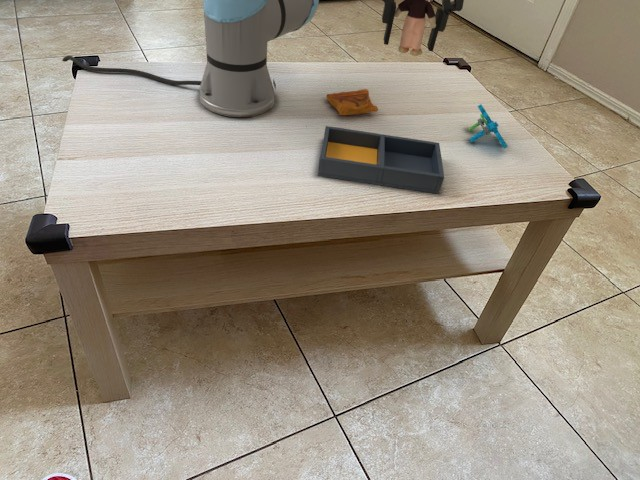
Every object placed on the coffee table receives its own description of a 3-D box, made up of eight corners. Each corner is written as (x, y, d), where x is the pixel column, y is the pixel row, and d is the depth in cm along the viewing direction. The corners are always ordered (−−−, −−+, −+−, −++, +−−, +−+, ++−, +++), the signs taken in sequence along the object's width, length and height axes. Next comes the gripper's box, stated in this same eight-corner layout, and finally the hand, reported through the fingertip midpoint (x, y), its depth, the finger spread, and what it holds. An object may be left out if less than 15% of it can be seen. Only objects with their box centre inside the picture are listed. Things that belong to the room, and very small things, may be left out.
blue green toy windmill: (515, 152, 94) (491, 113, 90) (487, 169, 96) (463, 131, 92) (500, 130, 103) (478, 93, 99) (475, 146, 105) (452, 110, 101)
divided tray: (317, 175, 84) (319, 158, 82) (323, 142, 92) (325, 125, 90) (438, 193, 84) (444, 177, 82) (434, 158, 92) (439, 142, 90)
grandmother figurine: (427, 51, 90) (448, -24, 81) (427, 59, 87) (448, -17, 78) (387, 43, 90) (403, -32, 82) (385, 50, 88) (401, -26, 79)
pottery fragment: (341, 108, 96) (326, 77, 102) (336, 126, 100) (322, 95, 105) (386, 106, 100) (369, 76, 105) (379, 123, 103) (363, 94, 109)
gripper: (506, -101, 75) (459, 44, 91) (377, -122, 75) (353, 29, 90) (517, -92, 70) (465, 61, 86) (378, -114, 69) (352, 44, 85)
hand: (408, 44), depth 88 cm, fingers closed on grandmother figurine, 7 cm apart
